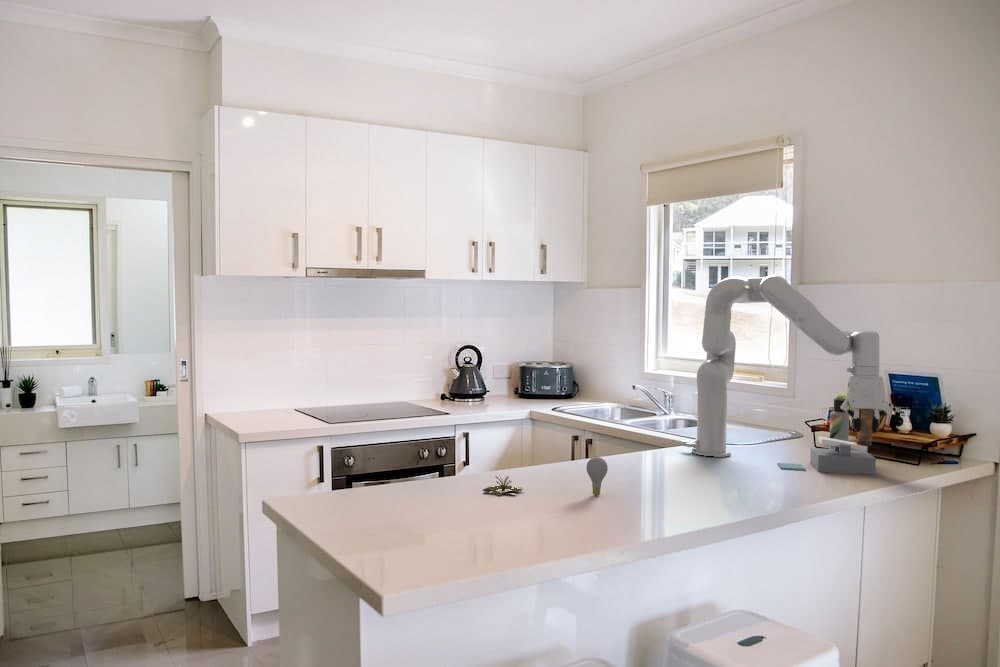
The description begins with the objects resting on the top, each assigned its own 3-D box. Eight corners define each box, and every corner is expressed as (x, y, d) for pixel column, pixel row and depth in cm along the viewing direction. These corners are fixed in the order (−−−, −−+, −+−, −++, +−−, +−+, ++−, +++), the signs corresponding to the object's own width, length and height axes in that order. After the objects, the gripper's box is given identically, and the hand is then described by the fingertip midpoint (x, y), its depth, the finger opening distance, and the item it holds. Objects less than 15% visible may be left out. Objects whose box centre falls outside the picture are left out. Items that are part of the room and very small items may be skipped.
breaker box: (818, 471, 227) (818, 445, 227) (810, 463, 239) (810, 438, 238) (875, 474, 224) (876, 448, 223) (864, 466, 235) (865, 441, 235)
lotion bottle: (844, 456, 251) (846, 397, 250) (850, 460, 245) (852, 399, 244) (826, 456, 251) (828, 396, 250) (832, 459, 246) (834, 398, 245)
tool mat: (781, 469, 230) (781, 467, 230) (777, 464, 236) (777, 462, 236) (805, 470, 228) (805, 468, 228) (801, 465, 235) (801, 464, 235)
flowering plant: (520, 500, 190) (520, 482, 190) (474, 497, 193) (475, 479, 192) (530, 489, 201) (530, 472, 201) (487, 486, 204) (487, 469, 204)
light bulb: (608, 494, 196) (609, 456, 195) (604, 499, 190) (605, 460, 190) (588, 492, 197) (589, 454, 197) (583, 497, 192) (584, 458, 192)
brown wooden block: (858, 444, 228) (861, 398, 227) (855, 442, 232) (858, 397, 231) (872, 445, 227) (876, 399, 226) (869, 443, 231) (872, 398, 230)
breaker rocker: (821, 443, 230) (822, 438, 230) (818, 440, 235) (819, 435, 235) (866, 451, 227) (867, 446, 227) (862, 448, 232) (863, 443, 232)
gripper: (838, 372, 227) (838, 432, 227) (899, 372, 223) (899, 434, 224) (833, 370, 234) (833, 429, 235) (891, 370, 231) (891, 430, 231)
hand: (865, 430), depth 229 cm, fingers closed on brown wooden block, 4 cm apart
